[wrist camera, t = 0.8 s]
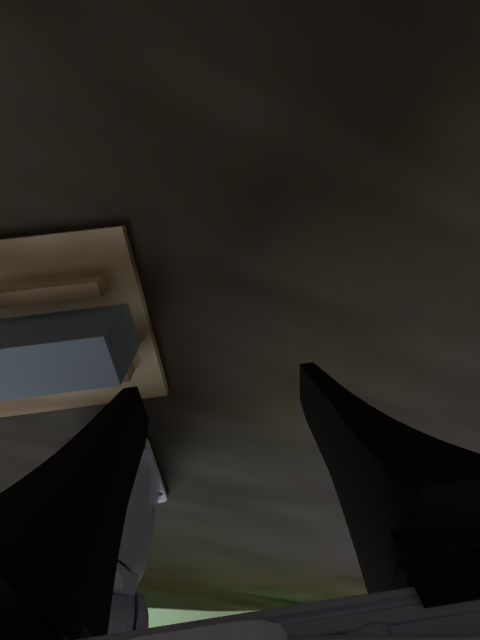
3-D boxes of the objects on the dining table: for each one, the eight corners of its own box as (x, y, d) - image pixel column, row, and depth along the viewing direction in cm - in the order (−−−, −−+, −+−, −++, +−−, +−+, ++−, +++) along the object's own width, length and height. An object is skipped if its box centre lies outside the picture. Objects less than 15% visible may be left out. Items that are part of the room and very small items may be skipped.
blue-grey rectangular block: (140, 344, 22) (120, 385, 17) (10, 360, 22) (-45, 406, 17) (128, 303, 20) (103, 336, 16) (-13, 320, 20) (-78, 358, 16)
